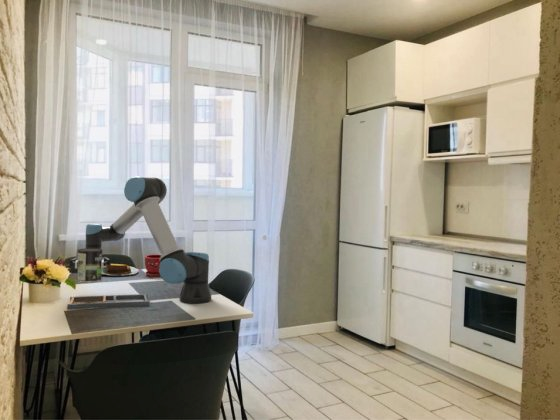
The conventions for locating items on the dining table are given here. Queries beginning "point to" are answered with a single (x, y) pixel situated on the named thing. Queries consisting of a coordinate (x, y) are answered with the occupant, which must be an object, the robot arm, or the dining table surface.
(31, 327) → the dining table surface
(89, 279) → the coffee can
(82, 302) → the gray rectangular tray
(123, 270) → the food on plate
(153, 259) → the plant pot
